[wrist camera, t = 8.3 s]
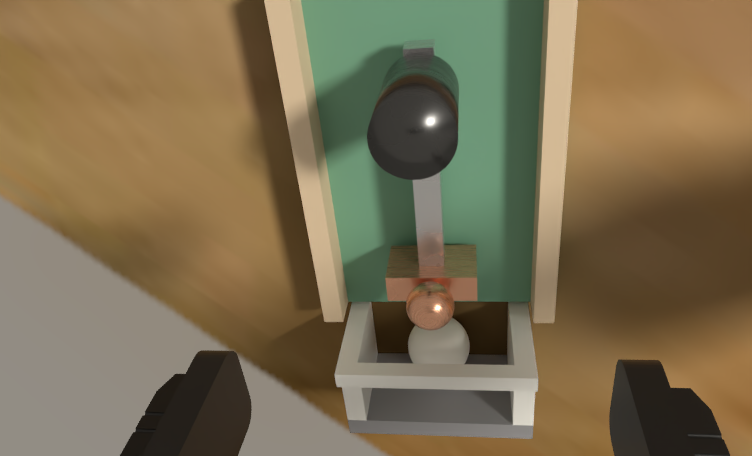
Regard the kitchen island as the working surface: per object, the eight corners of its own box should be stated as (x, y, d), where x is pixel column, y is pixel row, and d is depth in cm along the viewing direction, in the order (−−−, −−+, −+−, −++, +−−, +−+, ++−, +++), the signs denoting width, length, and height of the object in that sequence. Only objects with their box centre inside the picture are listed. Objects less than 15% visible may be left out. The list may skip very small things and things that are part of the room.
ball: (470, 390, 39) (470, 340, 42) (469, 352, 36) (468, 301, 39) (408, 388, 40) (412, 339, 43) (403, 351, 37) (407, 301, 40)
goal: (527, 298, 39) (538, 378, 33) (524, 367, 42) (534, 452, 36) (353, 297, 41) (334, 374, 35) (363, 365, 44) (347, 445, 38)
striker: (473, 32, 29) (475, 87, 22) (476, 273, 36) (479, 366, 30) (369, 39, 30) (343, 94, 23) (394, 274, 37) (379, 364, 31)
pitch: (570, -51, 28) (580, -40, 25) (548, 291, 38) (554, 323, 36) (278, -25, 30) (261, -13, 28) (333, 292, 41) (324, 321, 38)
